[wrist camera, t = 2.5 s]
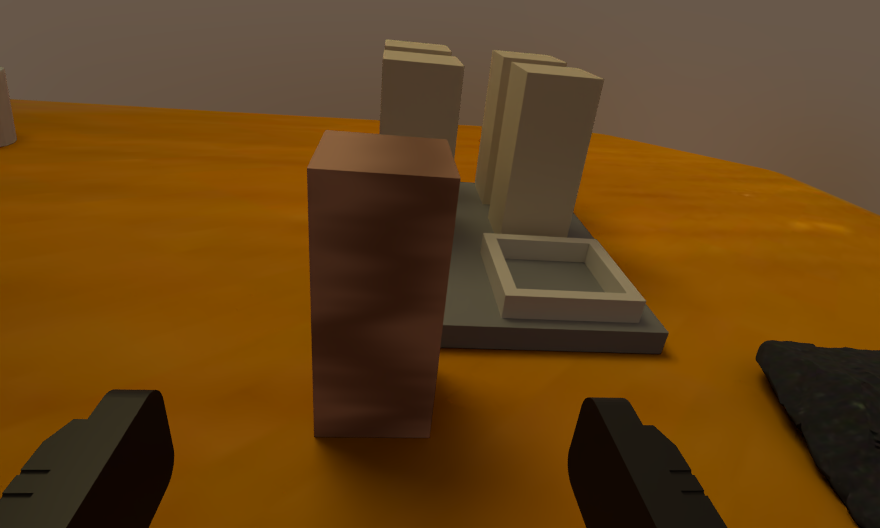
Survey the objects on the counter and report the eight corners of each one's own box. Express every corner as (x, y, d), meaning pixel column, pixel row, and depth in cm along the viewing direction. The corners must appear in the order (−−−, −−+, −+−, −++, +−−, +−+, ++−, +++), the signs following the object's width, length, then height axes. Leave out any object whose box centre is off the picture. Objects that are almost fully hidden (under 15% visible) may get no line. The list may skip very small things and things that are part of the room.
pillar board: (330, 344, 28) (329, 84, 21) (358, 190, 49) (361, 36, 42) (660, 353, 30) (747, 121, 24) (551, 202, 51) (581, 58, 45)
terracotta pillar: (314, 436, 22) (307, 168, 16) (327, 362, 26) (325, 130, 21) (429, 437, 23) (460, 178, 17) (423, 364, 27) (447, 139, 21)
